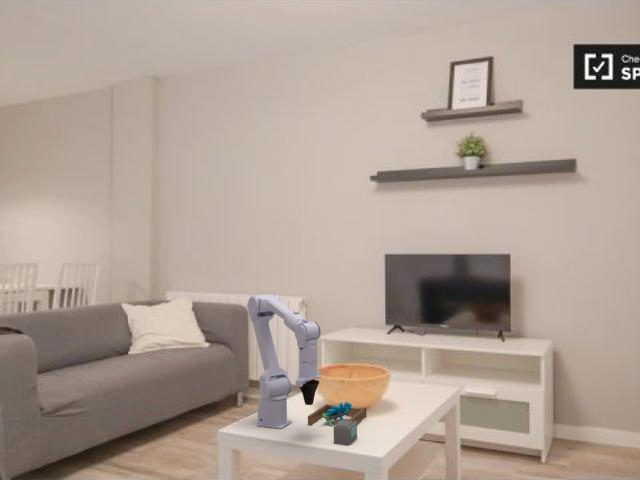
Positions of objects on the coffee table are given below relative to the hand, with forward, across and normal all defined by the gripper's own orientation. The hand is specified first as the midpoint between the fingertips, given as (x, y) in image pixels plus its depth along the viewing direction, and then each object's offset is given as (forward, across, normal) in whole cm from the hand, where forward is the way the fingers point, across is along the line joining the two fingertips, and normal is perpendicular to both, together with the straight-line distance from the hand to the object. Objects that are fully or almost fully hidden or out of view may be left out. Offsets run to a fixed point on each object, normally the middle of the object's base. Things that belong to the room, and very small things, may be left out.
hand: (309, 404), depth 179 cm
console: (+10, +2, -12) cm, 16 cm away
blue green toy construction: (+11, +17, -2) cm, 20 cm away
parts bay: (+10, +18, -2) cm, 21 cm away
